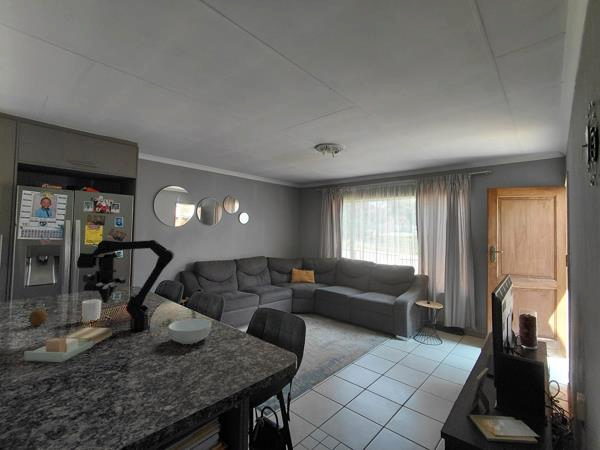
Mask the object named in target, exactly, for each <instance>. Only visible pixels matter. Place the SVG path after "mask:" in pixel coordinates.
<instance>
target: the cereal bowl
mask: <svg viewBox="0 0 600 450" xmlns="http://www.w3.org/2000/svg"><path fill="white" fill-rule="evenodd" d="M167 329H168V336H169V337H170V339H171V340H172V341H174V342H176V343H180V344H181V345H184V344H185V345H186V344H190V345H194V344H193V343H195V344H197V343H199V342H200V341H202V340H205V339H206V338H207V337H208V336H209V335H210V332H211V331H212V322H211V321H210V320H209V319H205V318H188V319H182V320H177V321H174V322H172V323H170V324H169V325H168V328H167Z"/></svg>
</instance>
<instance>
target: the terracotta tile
mask: <svg viewBox="0 0 600 450" xmlns="http://www.w3.org/2000/svg"><path fill="white" fill-rule="evenodd" d="M45 346H46V352H62V353H65V352H66V338H63V337H61V338H60V337H58V338H57V337H53V338H50V339H48V340H45Z"/></svg>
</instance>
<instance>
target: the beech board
mask: <svg viewBox="0 0 600 450" xmlns="http://www.w3.org/2000/svg"><path fill="white" fill-rule="evenodd" d="M112 335H113V328H112V327H111V328H110V327H108V328H107V327H82V328H81V329H79V330H77V331H74V332H72V333H69V334H67V335H65V336H62V338H69V339H78V342H90V341H94V345H96V344H97V343H99V342H102V341H103V340H106V339H108V338H109V337H111V336H112Z"/></svg>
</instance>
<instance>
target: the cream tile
mask: <svg viewBox="0 0 600 450" xmlns="http://www.w3.org/2000/svg"><path fill="white" fill-rule="evenodd" d="M76 347H78V339H69V338H66V352H68V351H70V350H72V349H74V348H76Z"/></svg>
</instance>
